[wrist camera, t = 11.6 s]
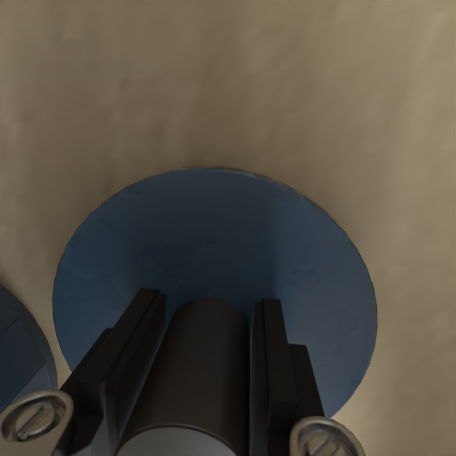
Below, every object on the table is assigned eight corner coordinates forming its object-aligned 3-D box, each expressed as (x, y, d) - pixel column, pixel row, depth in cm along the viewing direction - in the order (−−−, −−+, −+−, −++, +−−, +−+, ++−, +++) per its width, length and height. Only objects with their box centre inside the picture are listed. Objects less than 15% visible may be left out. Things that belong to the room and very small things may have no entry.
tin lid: (56, 154, 10) (-171, 181, 5) (393, 174, 10) (581, 232, 4) (83, 412, 13) (-36, 611, 8) (339, 439, 13) (406, 673, 7)
